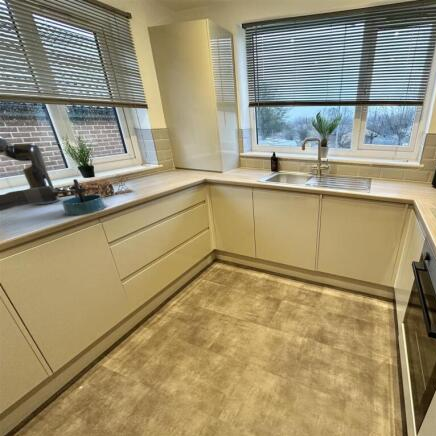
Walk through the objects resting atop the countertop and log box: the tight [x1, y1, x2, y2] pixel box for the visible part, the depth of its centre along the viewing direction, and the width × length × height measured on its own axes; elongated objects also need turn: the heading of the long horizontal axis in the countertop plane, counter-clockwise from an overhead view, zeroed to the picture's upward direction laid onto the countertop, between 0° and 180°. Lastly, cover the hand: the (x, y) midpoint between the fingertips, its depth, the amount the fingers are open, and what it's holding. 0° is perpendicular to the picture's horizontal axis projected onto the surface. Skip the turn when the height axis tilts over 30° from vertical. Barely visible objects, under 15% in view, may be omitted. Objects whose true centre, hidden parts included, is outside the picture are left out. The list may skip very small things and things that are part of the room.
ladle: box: [73, 178, 85, 203], centre depth 124 cm, size 6×6×16 cm
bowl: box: [61, 195, 106, 216], centre depth 126 cm, size 16×16×6 cm
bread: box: [72, 179, 115, 198], centre depth 147 cm, size 19×11×10 cm, turn 139°
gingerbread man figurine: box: [113, 174, 133, 195], centre depth 156 cm, size 9×4×12 cm, turn 134°
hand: (83, 188), depth 124 cm, fingers open, 8 cm apart
